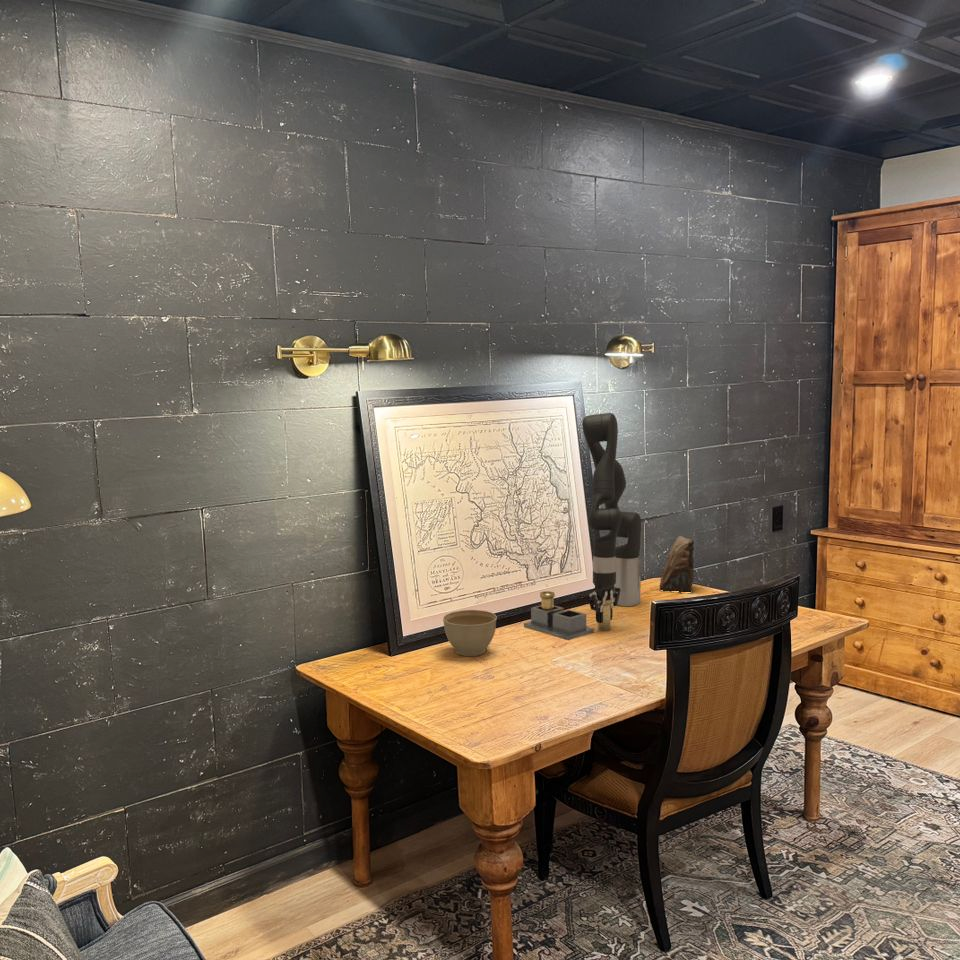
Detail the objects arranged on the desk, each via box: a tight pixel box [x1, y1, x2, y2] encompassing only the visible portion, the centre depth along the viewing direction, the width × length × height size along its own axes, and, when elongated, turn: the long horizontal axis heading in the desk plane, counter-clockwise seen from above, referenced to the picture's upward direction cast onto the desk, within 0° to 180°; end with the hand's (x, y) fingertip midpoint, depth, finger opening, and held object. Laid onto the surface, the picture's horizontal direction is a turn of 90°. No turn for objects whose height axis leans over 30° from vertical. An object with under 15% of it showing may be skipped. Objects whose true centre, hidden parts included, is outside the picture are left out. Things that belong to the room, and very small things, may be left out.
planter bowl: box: [442, 609, 498, 657], centre depth 273 cm, size 16×16×11 cm
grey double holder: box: [523, 590, 595, 641], centre depth 295 cm, size 12×20×11 cm, turn 41°
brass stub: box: [597, 599, 612, 632], centre depth 295 cm, size 5×5×10 cm
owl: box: [659, 534, 695, 592], centre depth 344 cm, size 13×13×20 cm
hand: (604, 620), depth 295 cm, fingers closed on brass stub, 4 cm apart
